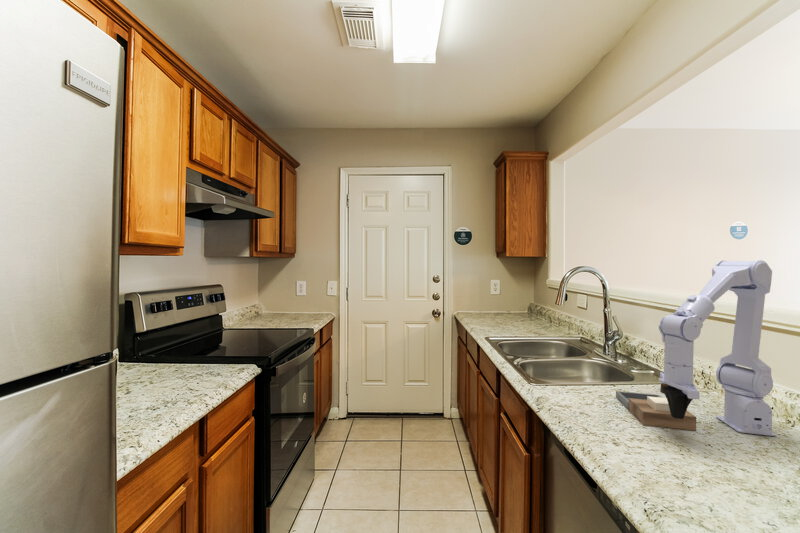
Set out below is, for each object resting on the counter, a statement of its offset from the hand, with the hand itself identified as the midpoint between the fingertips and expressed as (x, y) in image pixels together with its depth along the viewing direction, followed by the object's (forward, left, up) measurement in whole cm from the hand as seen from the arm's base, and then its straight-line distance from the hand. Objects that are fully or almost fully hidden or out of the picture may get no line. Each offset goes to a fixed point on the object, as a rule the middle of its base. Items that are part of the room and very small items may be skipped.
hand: (677, 417), depth 89 cm
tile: (+8, 0, -1) cm, 8 cm away
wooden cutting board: (+9, 0, -4) cm, 10 cm away
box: (+19, 0, -4) cm, 20 cm away
